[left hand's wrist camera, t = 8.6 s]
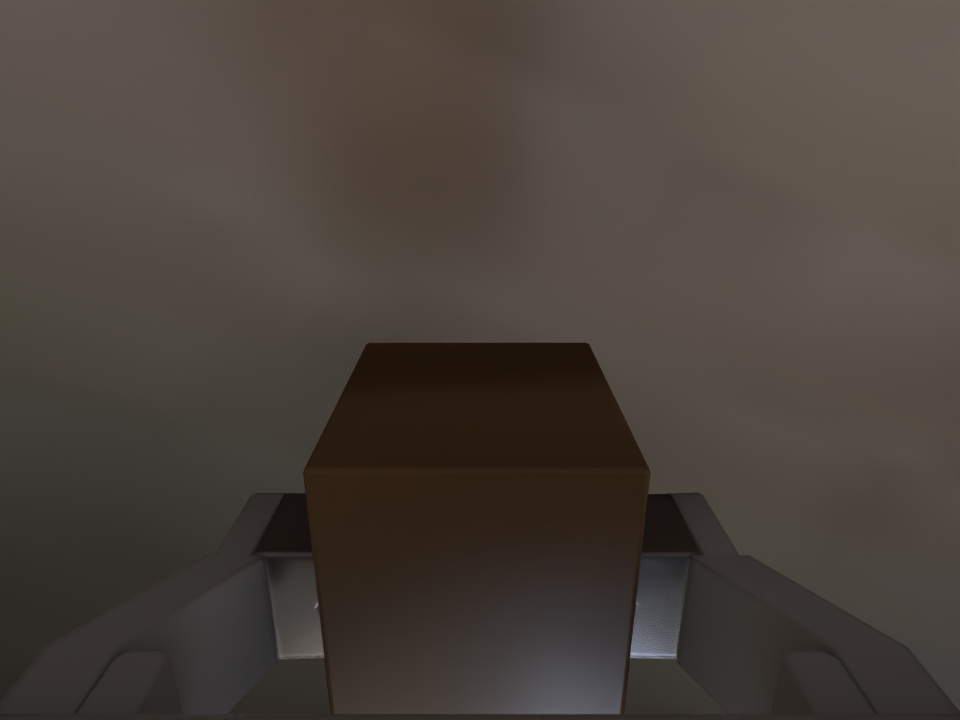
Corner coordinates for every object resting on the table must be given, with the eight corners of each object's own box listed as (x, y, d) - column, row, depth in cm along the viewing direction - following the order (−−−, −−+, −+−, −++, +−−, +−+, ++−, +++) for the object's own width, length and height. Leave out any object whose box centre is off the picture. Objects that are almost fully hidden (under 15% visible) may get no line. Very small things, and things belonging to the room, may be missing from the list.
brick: (365, 341, 11) (300, 469, 7) (589, 341, 11) (652, 469, 7) (381, 565, 13) (336, 772, 9) (575, 565, 13) (618, 771, 9)
